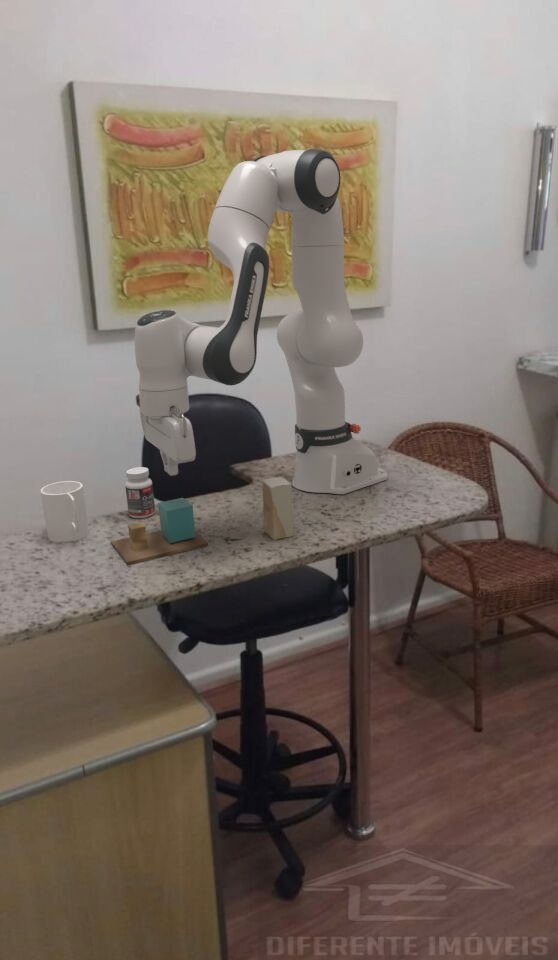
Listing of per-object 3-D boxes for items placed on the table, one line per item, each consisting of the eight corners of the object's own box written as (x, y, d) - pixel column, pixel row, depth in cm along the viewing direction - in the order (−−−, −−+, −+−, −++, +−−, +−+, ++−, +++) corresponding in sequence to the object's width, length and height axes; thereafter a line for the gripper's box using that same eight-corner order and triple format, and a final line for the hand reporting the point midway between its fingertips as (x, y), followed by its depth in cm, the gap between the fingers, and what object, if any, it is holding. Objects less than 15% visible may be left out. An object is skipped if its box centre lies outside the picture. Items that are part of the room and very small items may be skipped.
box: (263, 531, 149) (260, 479, 145) (283, 527, 150) (281, 475, 147) (274, 540, 144) (271, 487, 141) (294, 536, 146) (292, 483, 142)
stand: (188, 526, 153) (185, 494, 151) (208, 545, 144) (205, 511, 141) (111, 544, 146) (107, 511, 144) (127, 565, 137) (122, 530, 135)
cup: (60, 552, 144) (52, 503, 141) (43, 532, 154) (35, 486, 151) (101, 541, 148) (94, 493, 145) (81, 523, 158) (75, 478, 155)
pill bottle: (149, 519, 158) (144, 475, 155) (124, 518, 159) (119, 474, 156) (159, 509, 163) (154, 466, 160) (134, 508, 164) (129, 465, 161)
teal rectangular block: (186, 528, 150) (183, 497, 148) (195, 537, 145) (192, 505, 143) (161, 534, 148) (157, 502, 145) (170, 543, 143) (166, 511, 141)
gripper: (201, 410, 130) (207, 485, 134) (163, 390, 147) (170, 457, 152) (166, 415, 127) (173, 492, 132) (132, 394, 145) (140, 462, 149)
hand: (171, 473), depth 142 cm, fingers closed
